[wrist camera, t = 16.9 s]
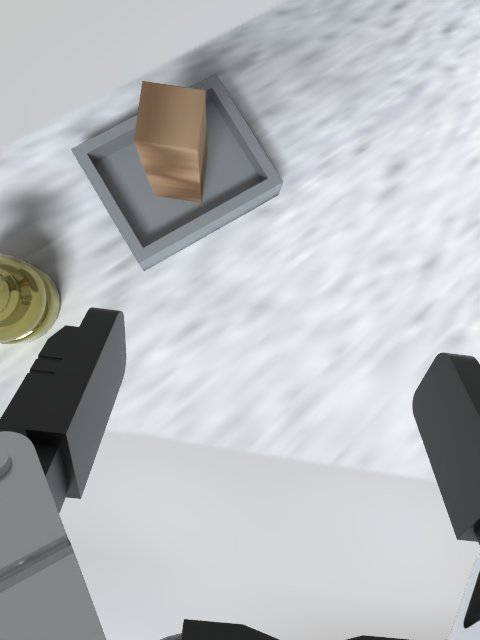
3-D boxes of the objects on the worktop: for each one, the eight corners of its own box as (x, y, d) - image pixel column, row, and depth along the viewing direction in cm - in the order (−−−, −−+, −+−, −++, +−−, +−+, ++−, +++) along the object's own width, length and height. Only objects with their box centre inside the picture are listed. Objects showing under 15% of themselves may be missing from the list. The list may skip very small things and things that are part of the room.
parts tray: (215, 94, 42) (215, 73, 39) (278, 195, 41) (283, 182, 38) (81, 164, 40) (70, 149, 37) (144, 270, 40) (138, 263, 37)
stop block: (207, 157, 40) (205, 90, 30) (201, 202, 40) (197, 149, 30) (160, 150, 40) (142, 81, 30) (154, 196, 39) (133, 140, 29)
